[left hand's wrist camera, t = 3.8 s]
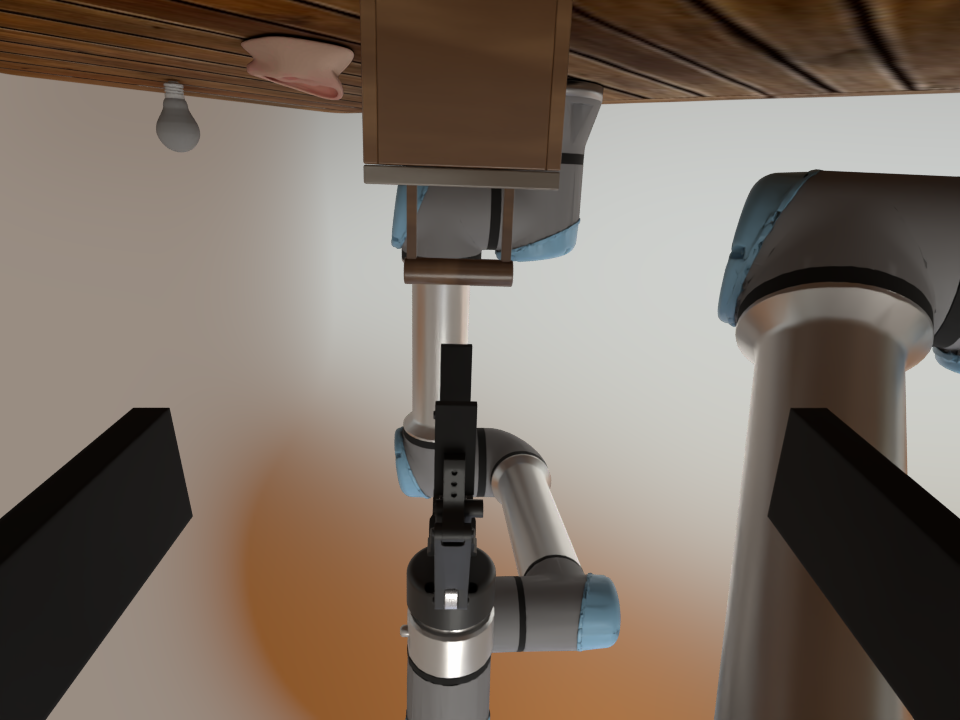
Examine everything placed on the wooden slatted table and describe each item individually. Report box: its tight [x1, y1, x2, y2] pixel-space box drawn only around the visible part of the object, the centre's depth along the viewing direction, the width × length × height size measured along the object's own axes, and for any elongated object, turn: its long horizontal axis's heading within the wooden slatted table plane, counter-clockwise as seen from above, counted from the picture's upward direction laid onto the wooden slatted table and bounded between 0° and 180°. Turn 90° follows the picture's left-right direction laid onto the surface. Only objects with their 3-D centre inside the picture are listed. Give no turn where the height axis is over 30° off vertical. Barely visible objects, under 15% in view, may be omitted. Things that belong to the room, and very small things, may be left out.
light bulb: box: [156, 81, 200, 152], centre depth 91 cm, size 6×6×10 cm
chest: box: [360, 0, 573, 171], centre depth 34 cm, size 13×10×11 cm
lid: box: [364, 165, 560, 287], centre depth 38 cm, size 14×10×8 cm
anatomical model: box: [241, 36, 354, 100], centre depth 62 cm, size 13×4×12 cm
